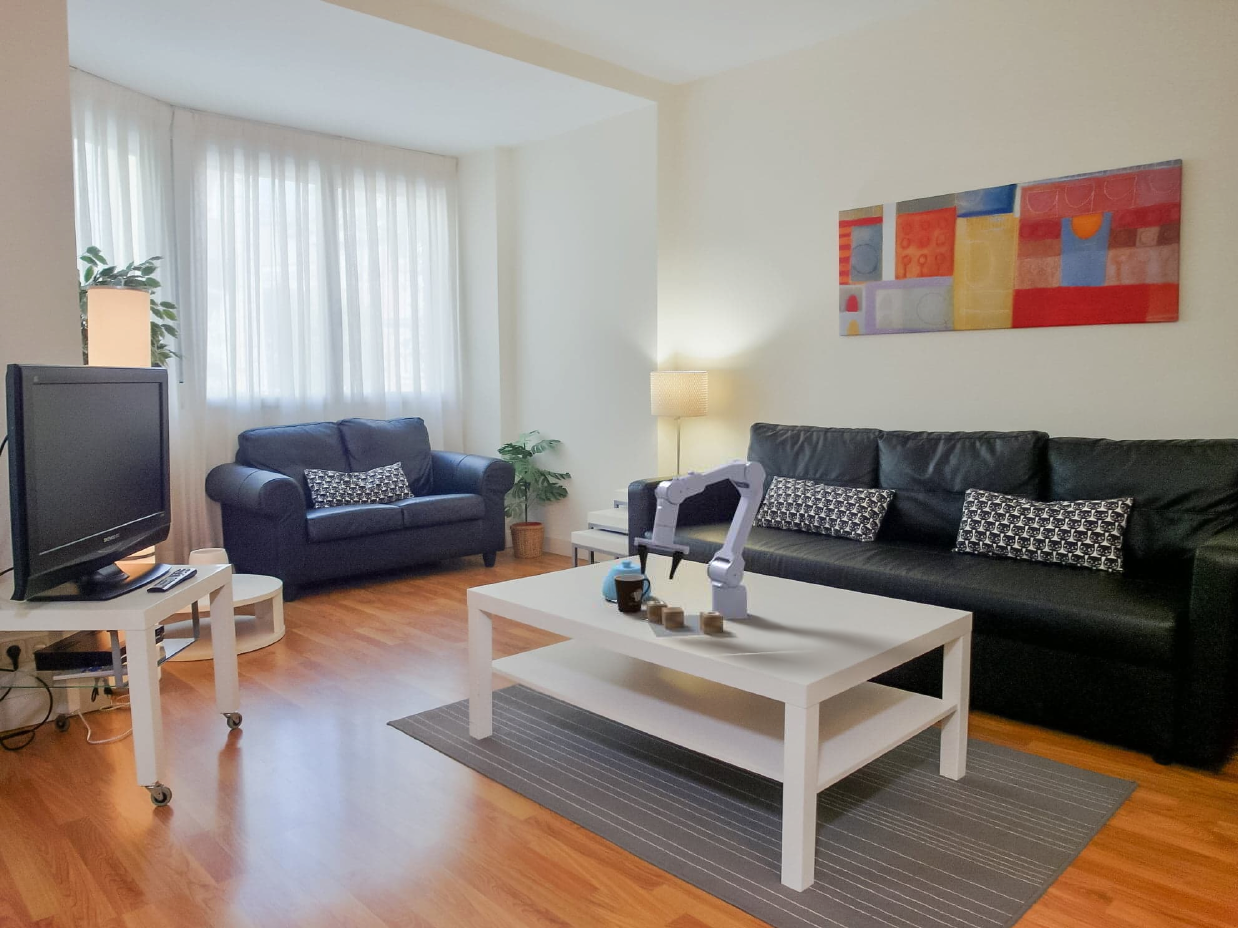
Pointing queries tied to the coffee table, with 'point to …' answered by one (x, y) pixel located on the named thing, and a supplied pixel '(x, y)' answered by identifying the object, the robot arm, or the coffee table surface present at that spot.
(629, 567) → the sugar bowl
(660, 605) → the labelled block
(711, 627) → the labelled block
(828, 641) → the coffee table surface
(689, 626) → the grey mat
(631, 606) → the coffee mug
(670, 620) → the plain block
